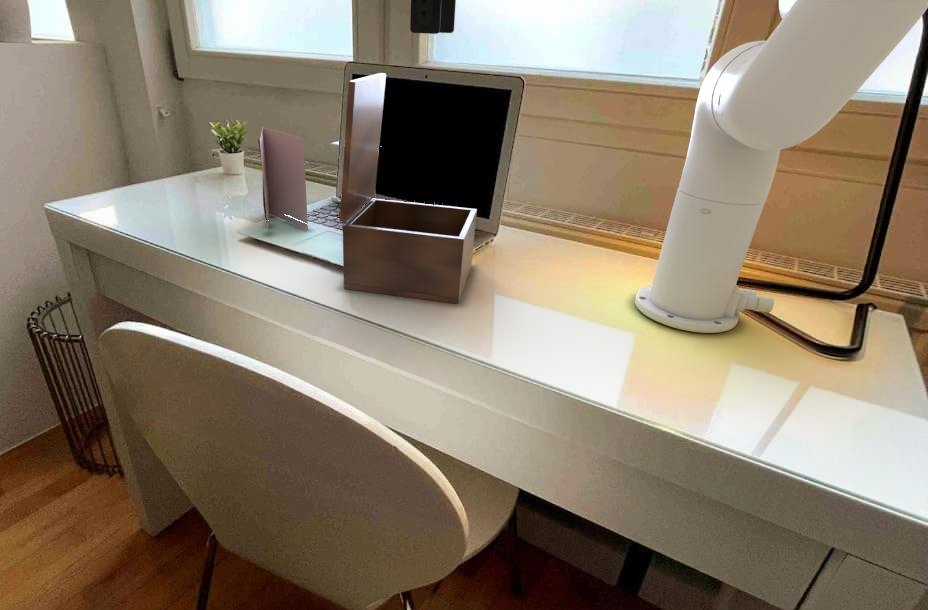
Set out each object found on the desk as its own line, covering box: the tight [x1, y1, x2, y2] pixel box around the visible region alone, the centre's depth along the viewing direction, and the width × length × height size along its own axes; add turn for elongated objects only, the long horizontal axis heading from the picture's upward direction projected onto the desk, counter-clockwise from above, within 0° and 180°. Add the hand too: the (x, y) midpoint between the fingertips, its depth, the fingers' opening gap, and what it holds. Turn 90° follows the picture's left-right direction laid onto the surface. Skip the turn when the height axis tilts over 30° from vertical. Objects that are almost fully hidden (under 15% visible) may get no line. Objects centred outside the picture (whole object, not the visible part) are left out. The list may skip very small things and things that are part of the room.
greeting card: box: [257, 126, 309, 233], centre depth 95 cm, size 11×7×15 cm, turn 11°
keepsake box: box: [342, 197, 478, 305], centre depth 79 cm, size 16×14×9 cm
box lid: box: [339, 72, 387, 223], centre depth 73 cm, size 16×14×1 cm
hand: (433, 32), depth 65 cm, fingers open, 9 cm apart
